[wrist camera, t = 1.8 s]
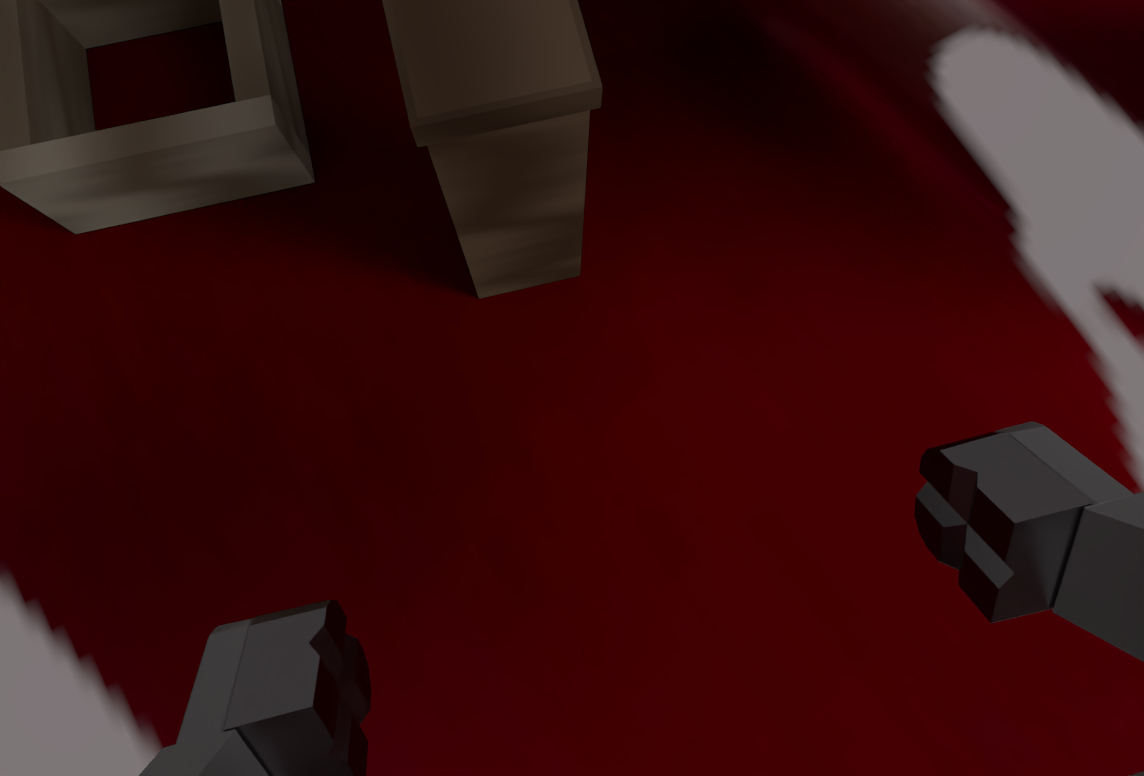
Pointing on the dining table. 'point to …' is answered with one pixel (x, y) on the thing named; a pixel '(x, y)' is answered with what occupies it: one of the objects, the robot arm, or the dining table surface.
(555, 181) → the brown capped wooden post
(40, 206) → the frame
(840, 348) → the dining table surface
